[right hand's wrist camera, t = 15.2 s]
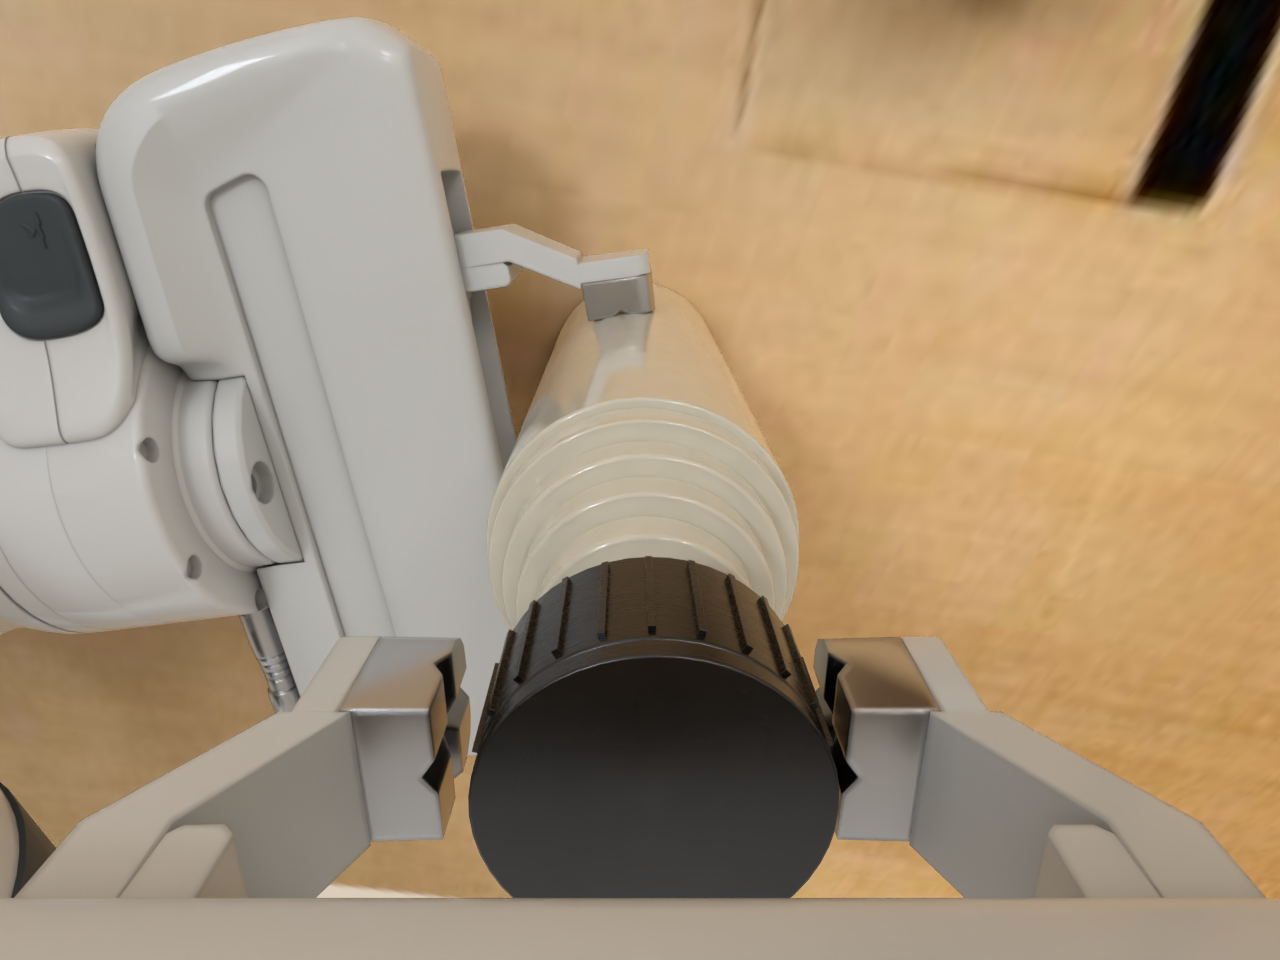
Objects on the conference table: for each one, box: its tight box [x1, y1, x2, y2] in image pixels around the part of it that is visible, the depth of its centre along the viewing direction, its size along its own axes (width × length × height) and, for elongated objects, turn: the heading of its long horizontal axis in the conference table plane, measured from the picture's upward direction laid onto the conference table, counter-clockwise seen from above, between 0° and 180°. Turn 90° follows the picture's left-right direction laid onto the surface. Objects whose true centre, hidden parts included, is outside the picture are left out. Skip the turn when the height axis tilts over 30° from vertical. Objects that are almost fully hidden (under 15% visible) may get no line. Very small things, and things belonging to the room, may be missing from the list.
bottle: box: [486, 284, 800, 630], centre depth 18 cm, size 6×6×20 cm
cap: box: [468, 556, 839, 898], centre depth 9 cm, size 4×4×2 cm
